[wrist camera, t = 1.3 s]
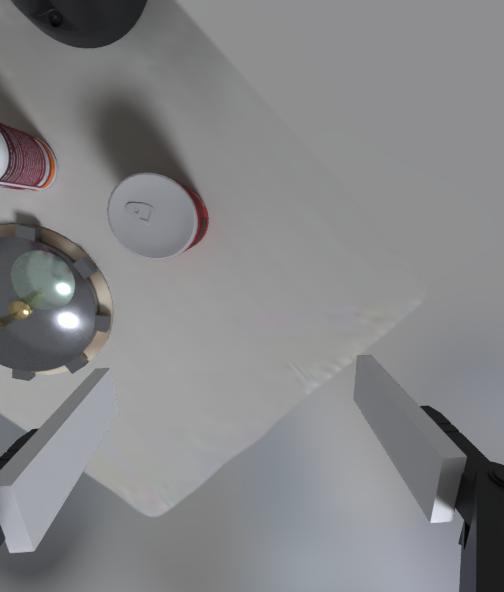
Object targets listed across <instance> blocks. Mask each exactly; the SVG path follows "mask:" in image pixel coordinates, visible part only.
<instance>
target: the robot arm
mask: <svg viewBox="0 0 504 592" xmlns="http://www.w3.org/2000/svg"><path fill="white" fill-rule="evenodd" d="M11 1H12V3H13V4H14V5H15V6H16V7H17V8H18V9H19V10H20V11H21V12H22V13H23V14H24V15H25V16H26V17H27V18H28V19H29V20H30V21H31V22H32V23H34V24H35V25H36V26H37V27H38V28H39V29H40V30H42V31H43V32H44V33H46V34H47V35H49V36H50V37H52V38H54V39H55V40H57V41H59V42H62V43H64V44H67V45H70V46H74V47H79V48H97V47H102V46H106V45H109V44H111V43H113V42H115V41H117V40H119V39H120V38H122V37H123V36H124V35H125V34H127V33H128V32H129V31H130V30H131V28H132V27H133V26H134V25H135V23H136V22H137V21H138V19H139V17H140V16H141V14H142V11H143V9H144V7H145V4H146V1H147V0H11ZM354 401H355V402H356V404H357V406H358V407H359V409H360V410H361V412H362V414H363V415H364V417H365V418H366V420H367V422H368V423H369V425H370V426H371V428H372V430H373V431H374V433H375V434H376V436H377V438H378V439H379V441H380V443H381V444H382V446H383V447H384V449H385V451H386V452H387V454H388V456H389V457H390V459H391V460H392V462H393V464H394V465H395V467H396V469H397V470H398V472H399V473H400V475H401V477H402V478H403V480H404V481H405V483H406V485H407V486H408V488H409V490H410V491H411V493H412V494H413V496H414V498H415V499H416V501H417V502H418V504H419V506H420V507H421V509H422V510H423V512H424V514H425V515H426V517H427V519H428V520H429V522H430V523H436V522H451V521H452V520H453V516H454V512H455V508H456V509H457V511H458V512H459V513H460V514H461V516H462V517H463V519H464V523H463V527H462V531H461V535H460V540H459V544H460V545H462V548H461V567H460V587H459V592H504V465H502V464H498V463H495V462H490V461H489V460H488V459H487V458H486V457H485V456H484V455H483V454H482V453H481V452H480V451H479V450H478V449H477V448H476V447H475V446H474V445H473V444H472V443H471V442H470V441H469V440H468V439H467V438H466V437H465V436H464V435H463V434H462V433H459V430H458V429H457V428H456V427H455V426H454V425H451V423H450V422H449V421H448V420H447V419H446V418H445V417H444V416H443V415H442V414H441V413H440V412H438V411H436V410H435V409H433V408H432V407H430V406H419V405H418V404H417V403H416V402H415V401H414V400H413V399H412V398H411V397H410V396H409V395H408V394H407V392H406V391H405V390H404V389H403V388H402V387H401V386H400V385H399V384H398V383H397V382H396V381H395V380H394V379H393V378H392V377H391V375H390V374H389V373H388V372H387V371H386V370H385V369H384V368H383V367H382V366H381V365H380V364H379V363H378V362H377V361H376V360H375V358H374V357H373V356H372V355H357V363H356V375H355V387H354ZM118 413H119V410H118V405H117V400H116V395H115V390H114V385H113V380H112V375H111V369H110V368H100V369H95V370H94V371H93V372H92V373H91V374H90V375H89V376H88V377H87V378H86V379H85V380H84V381H83V383H82V384H81V385H80V386H79V387H78V388H77V389H76V390H75V391H74V392H73V393H72V394H71V395H70V396H69V397H68V399H67V400H66V401H65V402H64V403H63V404H62V405H61V406H60V407H59V408H58V409H57V410H56V411H55V412H54V414H53V415H52V416H51V417H50V418H49V419H48V420H47V421H46V422H45V423H44V424H43V425H42V426H41V427H40V428H39V429H32V430H31V431H29V432H28V433H26V434H25V435H23V436H22V437H20V438H19V439H18V440H17V441H16V442H15V443H14V444H13V445H12V446H11V447H10V448H9V449H8V450H7V452H5V453H4V454H3V455H2V456H1V457H0V546H1V545H2V543H3V542H4V540H5V542H6V544H7V547H8V549H9V552H10V553H17V552H30V551H34V550H35V549H36V547H37V545H38V544H39V543H40V541H41V539H42V538H43V536H44V534H45V533H46V531H47V529H48V527H49V526H50V524H51V523H52V521H53V520H54V518H55V516H56V515H57V513H58V511H59V510H60V508H61V507H62V505H63V503H64V502H65V500H66V498H67V497H68V495H69V493H70V492H71V490H72V488H73V487H74V485H75V484H76V482H77V480H78V479H79V477H80V475H81V473H82V472H83V470H84V469H85V467H86V466H87V464H88V462H89V461H90V459H91V457H92V456H93V454H94V452H95V451H96V449H97V447H98V446H99V444H100V443H101V441H102V439H103V438H104V436H105V434H106V433H107V431H108V429H109V428H110V426H111V424H112V423H113V421H114V420H115V418H116V416H117V415H118Z"/></svg>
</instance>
